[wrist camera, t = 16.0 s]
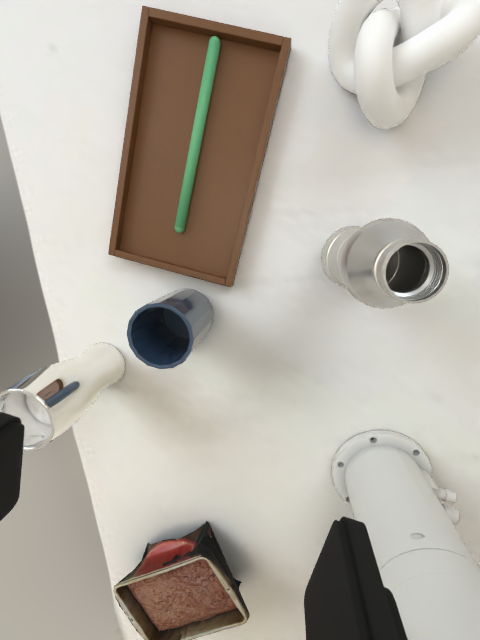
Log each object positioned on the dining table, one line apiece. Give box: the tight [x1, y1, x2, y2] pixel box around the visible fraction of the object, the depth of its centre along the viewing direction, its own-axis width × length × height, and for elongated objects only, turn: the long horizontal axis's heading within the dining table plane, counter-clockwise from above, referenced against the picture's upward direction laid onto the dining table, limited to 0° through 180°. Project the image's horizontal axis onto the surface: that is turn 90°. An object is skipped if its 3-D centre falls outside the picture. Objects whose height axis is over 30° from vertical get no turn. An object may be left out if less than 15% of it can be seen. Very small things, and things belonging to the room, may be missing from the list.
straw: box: [175, 36, 221, 233], centre depth 36 cm, size 10×1×18 cm
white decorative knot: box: [328, 0, 480, 129], centre depth 29 cm, size 11×12×9 cm
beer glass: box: [0, 343, 125, 451], centre depth 38 cm, size 7×7×15 cm
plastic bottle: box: [321, 218, 449, 309], centre depth 28 cm, size 6×7×20 cm
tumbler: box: [127, 289, 214, 369], centre depth 37 cm, size 7×7×10 cm
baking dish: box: [114, 521, 249, 640], centre depth 48 cm, size 14×18×10 cm
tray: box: [108, 6, 291, 287], centre depth 37 cm, size 16×26×2 cm, turn 166°
